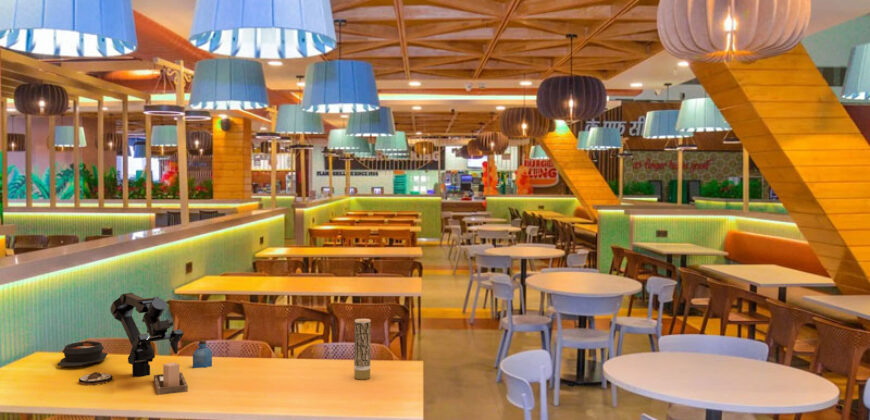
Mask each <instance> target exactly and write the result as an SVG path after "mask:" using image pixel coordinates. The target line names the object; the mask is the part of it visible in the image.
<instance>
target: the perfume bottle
mask: <svg viewBox="0 0 870 420" xmlns="http://www.w3.org/2000/svg"><path fill="white" fill-rule="evenodd" d="M211 367H213V352H212V350H211V348H210V347H207V340H205V339H202V340H199V341H198V348H196V349H195V351H194V352H193V354H192V369H198V368H202V369H203V368H205V369H207V368H211Z"/></svg>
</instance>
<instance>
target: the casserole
mask: <svg viewBox="0 0 870 420" xmlns="http://www.w3.org/2000/svg"><path fill="white" fill-rule="evenodd" d="M104 349H105V347H104V346H103V345H102V342H99V341H91V340H90V341H79V342H74V343H68V344H66V345H64V348H63V350H62V352H61V353H63V354H64V357H63V358H62V359H60V362H59V361H58V363H57V365H58V366H61V367H81V366H83V367H84V365H85V366H90V364H91V365H93V364H97V363H99V362H101V361H104V360H106V358H107V356H108V353H107V352H103V350H104Z"/></svg>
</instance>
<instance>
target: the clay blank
mask: <svg viewBox="0 0 870 420" xmlns="http://www.w3.org/2000/svg"><path fill="white" fill-rule="evenodd" d="M162 365H163V366H162V371H163V373H162V374H163V387H171V386H179V373H180V363H177V362H169V363H163V364H162Z"/></svg>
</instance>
